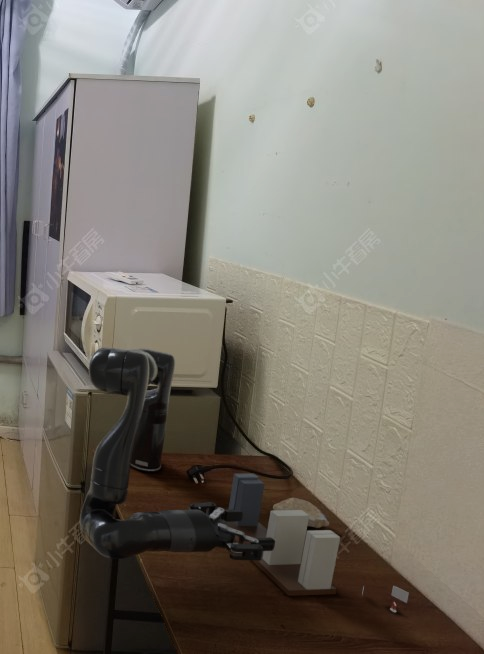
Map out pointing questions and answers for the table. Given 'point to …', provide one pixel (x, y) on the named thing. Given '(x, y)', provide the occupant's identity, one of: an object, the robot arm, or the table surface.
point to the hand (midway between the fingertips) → (256, 528)
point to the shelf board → (279, 567)
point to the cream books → (318, 559)
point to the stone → (315, 515)
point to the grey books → (247, 498)
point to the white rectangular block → (286, 536)
